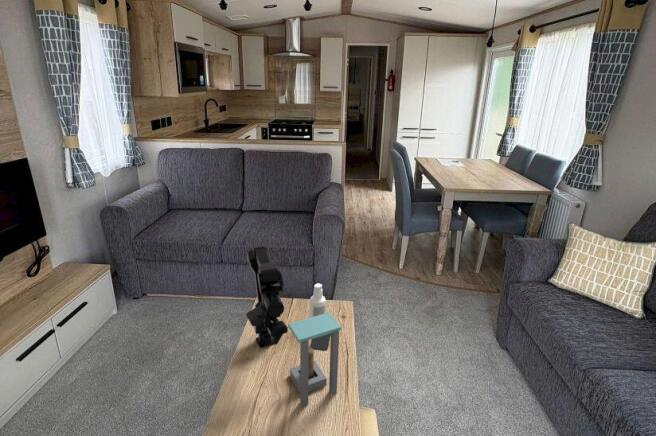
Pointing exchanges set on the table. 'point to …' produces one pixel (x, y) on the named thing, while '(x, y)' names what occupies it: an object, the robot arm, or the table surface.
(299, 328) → the teal topped stool
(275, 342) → the robot arm
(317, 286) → the spray bottle
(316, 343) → the phone
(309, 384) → the socket
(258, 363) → the table surface
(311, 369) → the peg
